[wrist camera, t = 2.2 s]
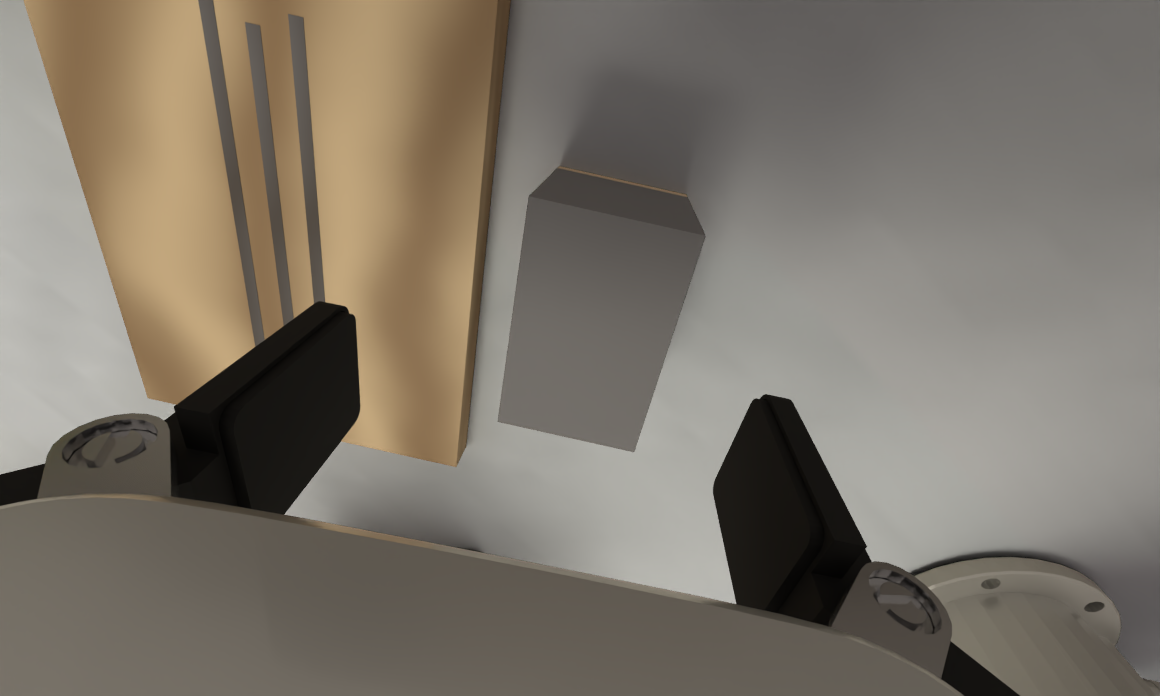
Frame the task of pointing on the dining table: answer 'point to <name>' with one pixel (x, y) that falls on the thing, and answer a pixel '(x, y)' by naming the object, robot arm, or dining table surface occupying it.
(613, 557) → the dining table surface
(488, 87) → the board
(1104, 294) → the dining table surface
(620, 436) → the block
